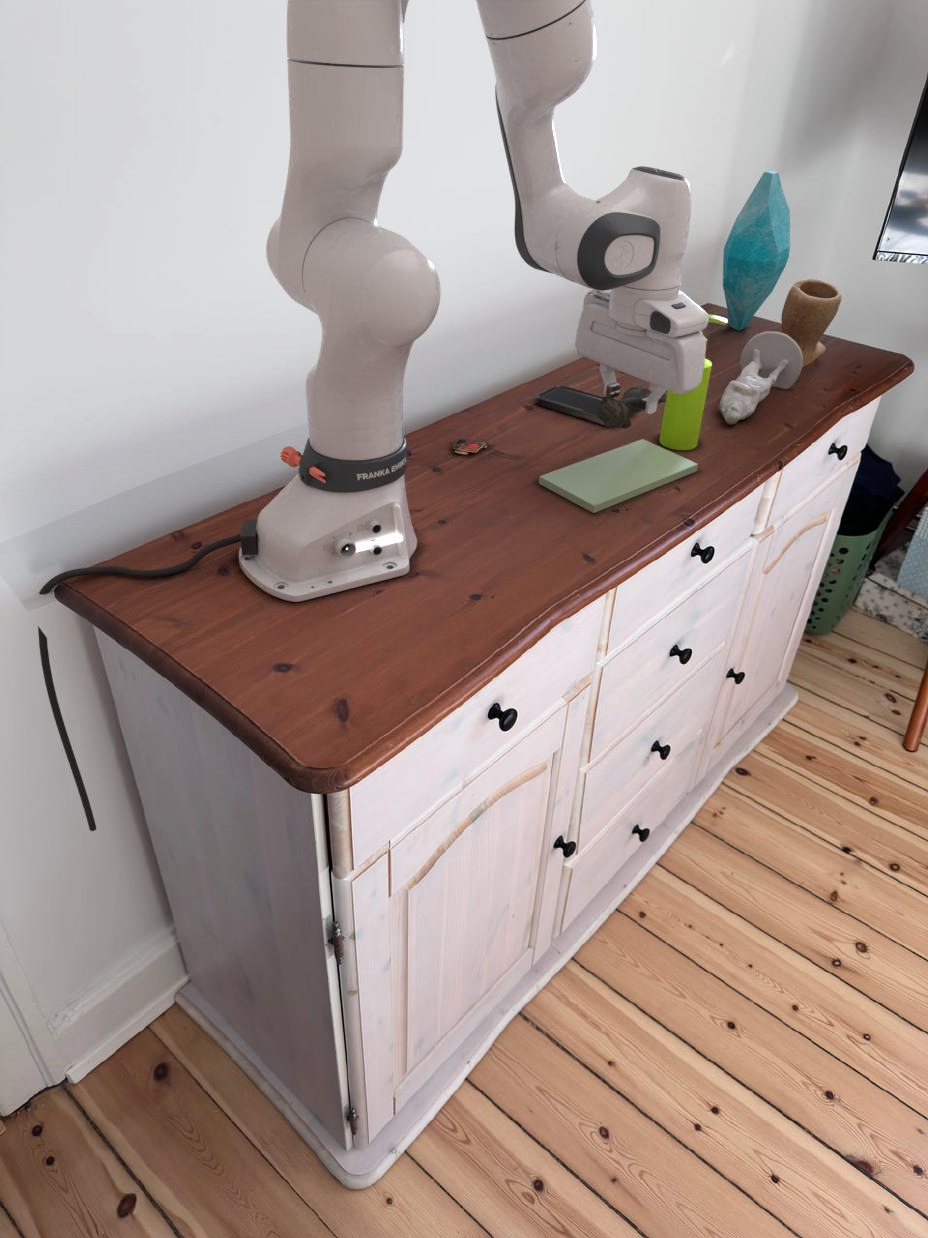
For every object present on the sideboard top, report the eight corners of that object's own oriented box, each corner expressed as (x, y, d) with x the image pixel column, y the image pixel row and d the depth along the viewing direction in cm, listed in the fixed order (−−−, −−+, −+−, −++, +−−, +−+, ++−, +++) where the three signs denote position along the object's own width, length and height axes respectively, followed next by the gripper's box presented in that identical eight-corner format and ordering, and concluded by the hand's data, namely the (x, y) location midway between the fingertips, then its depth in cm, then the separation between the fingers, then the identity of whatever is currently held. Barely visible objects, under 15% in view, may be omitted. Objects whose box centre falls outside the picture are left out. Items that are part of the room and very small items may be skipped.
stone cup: (809, 378, 171) (829, 296, 162) (749, 363, 177) (766, 282, 168) (839, 358, 180) (860, 279, 172) (782, 344, 186) (799, 267, 178)
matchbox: (455, 440, 144) (455, 437, 144) (488, 443, 143) (488, 441, 143) (449, 453, 140) (450, 450, 140) (483, 456, 140) (483, 453, 139)
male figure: (811, 335, 161) (764, 386, 144) (799, 387, 167) (752, 442, 150) (749, 322, 165) (697, 370, 149) (740, 374, 171) (688, 425, 155)
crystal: (781, 326, 196) (816, 171, 179) (753, 341, 187) (787, 180, 170) (728, 313, 202) (757, 163, 185) (699, 328, 193) (726, 171, 176)
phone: (558, 384, 162) (634, 406, 154) (558, 390, 162) (633, 412, 155) (533, 397, 156) (610, 420, 149) (533, 403, 157) (609, 426, 150)
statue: (629, 416, 140) (580, 437, 123) (631, 379, 138) (581, 396, 121) (670, 418, 137) (626, 440, 121) (673, 380, 135) (627, 398, 119)
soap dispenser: (703, 452, 143) (728, 323, 131) (658, 448, 144) (679, 319, 132) (703, 437, 148) (727, 311, 136) (659, 433, 149) (679, 307, 137)
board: (593, 513, 126) (594, 505, 125) (538, 483, 133) (539, 476, 132) (696, 471, 138) (698, 463, 137) (641, 445, 145) (642, 438, 144)
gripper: (570, 288, 126) (561, 386, 134) (687, 328, 113) (669, 433, 121) (602, 281, 129) (592, 376, 137) (719, 318, 116) (700, 422, 124)
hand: (629, 403), depth 129 cm, fingers closed on statue, 5 cm apart
